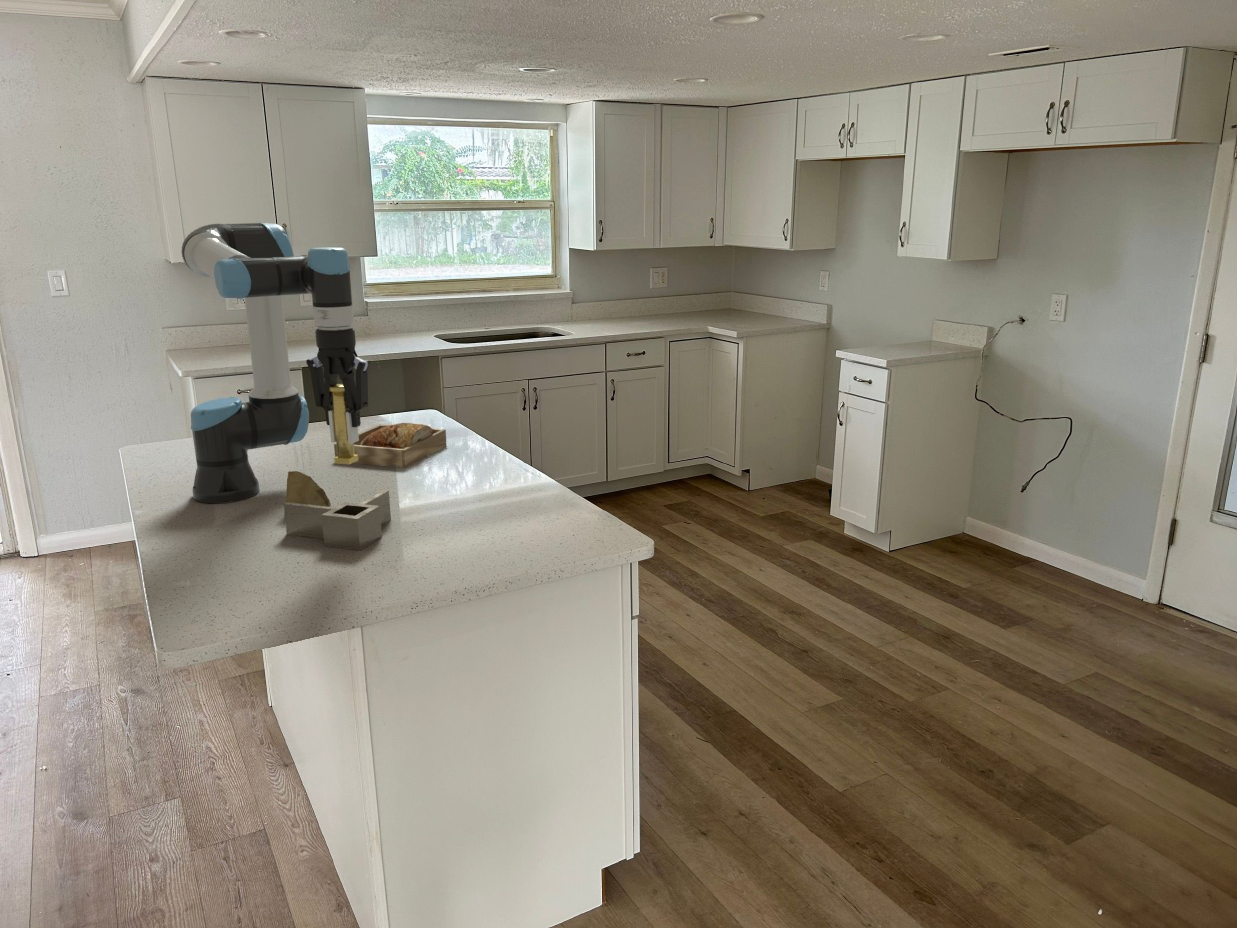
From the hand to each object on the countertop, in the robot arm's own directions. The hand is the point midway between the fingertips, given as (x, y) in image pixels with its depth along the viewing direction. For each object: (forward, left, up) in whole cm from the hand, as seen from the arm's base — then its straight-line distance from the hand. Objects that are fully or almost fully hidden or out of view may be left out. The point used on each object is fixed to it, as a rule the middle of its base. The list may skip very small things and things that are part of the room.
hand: (345, 441), depth 183 cm
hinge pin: (0, 0, -4) cm, 4 cm away
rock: (-21, +14, -22) cm, 34 cm away
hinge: (-6, +5, -22) cm, 24 cm away
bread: (-26, +64, -23) cm, 73 cm away
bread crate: (-28, +64, -22) cm, 73 cm away
